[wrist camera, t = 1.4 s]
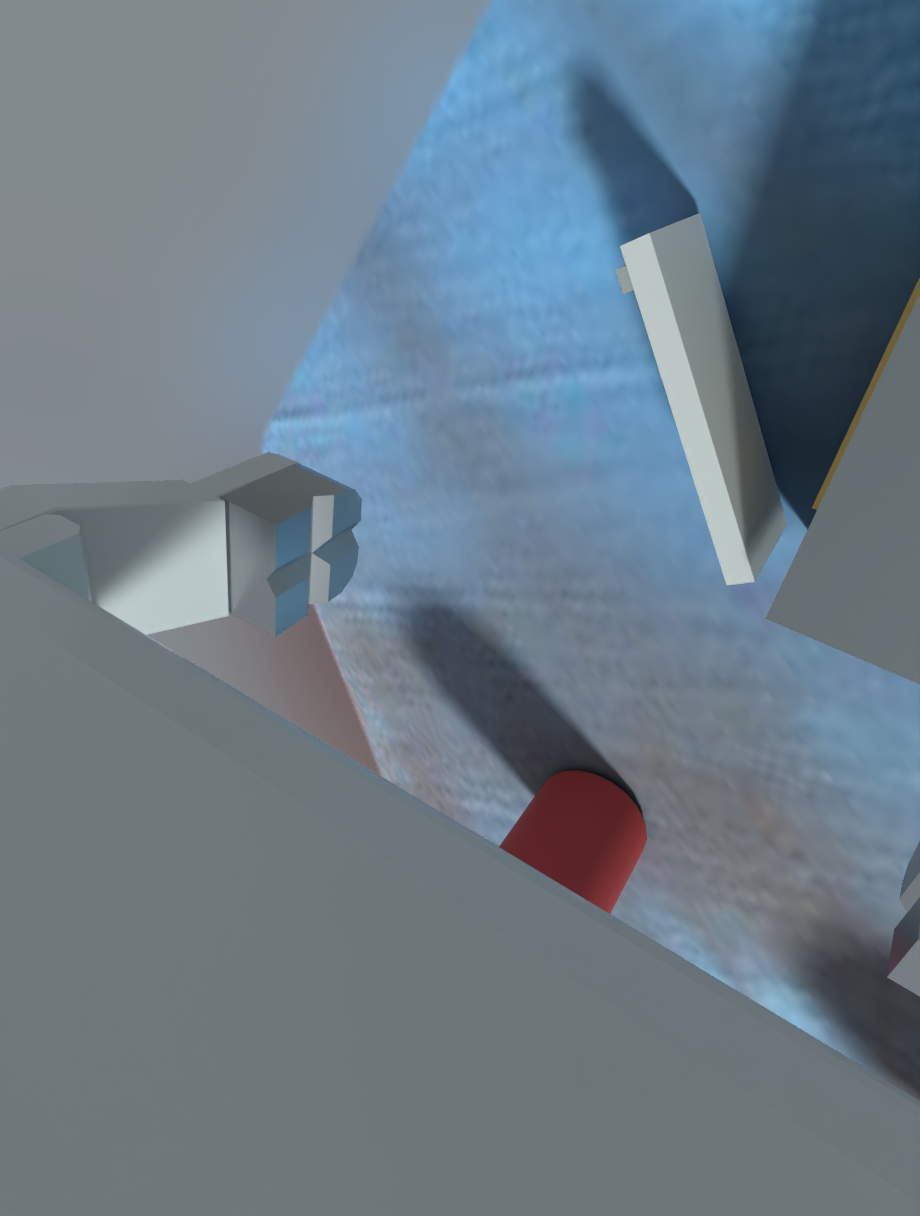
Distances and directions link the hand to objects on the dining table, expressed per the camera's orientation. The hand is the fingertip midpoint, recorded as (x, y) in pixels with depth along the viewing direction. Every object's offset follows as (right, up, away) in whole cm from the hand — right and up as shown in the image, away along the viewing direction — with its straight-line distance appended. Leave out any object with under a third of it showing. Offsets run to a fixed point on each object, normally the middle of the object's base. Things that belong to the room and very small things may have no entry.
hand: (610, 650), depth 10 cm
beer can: (+6, -11, +36) cm, 38 cm away
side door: (+8, +9, +20) cm, 23 cm away
